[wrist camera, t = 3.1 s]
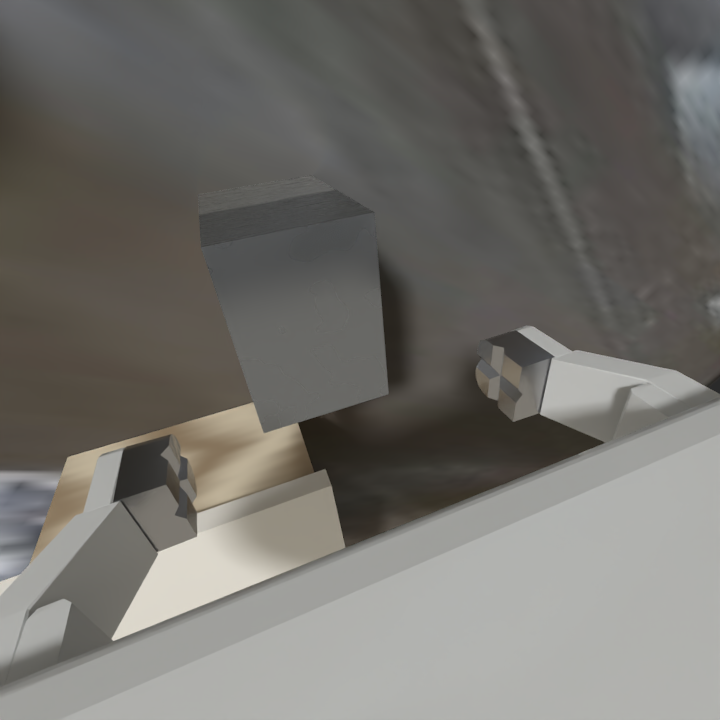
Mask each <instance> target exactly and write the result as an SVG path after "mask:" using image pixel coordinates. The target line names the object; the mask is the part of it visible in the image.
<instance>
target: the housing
mask: <svg viewBox="0 0 720 720" xmlns="http://www.w3.org/2000/svg"><path fill="white" fill-rule="evenodd" d="M198 202H199V219H200V236H201V249H202V252H203V254H204V257H205V260H206V263H207V266H208V269H209V272H210V275H211V278H212V281H213V284H214V287H215V290H216V293H217V296H218V299H219V302H220V305H221V308H222V311H223V314H224V317H225V320H226V323H227V326H228V329H229V332H230V335H231V338H232V341H233V344H234V346H235V349H236V352H237V355H238V358H239V361H240V364H241V367H242V370H243V373H244V376H245V379H246V382H247V385H248V388H249V391H250V394H251V397H252V400H253V403H254V406H255V409H256V412H257V415H258V418H259V421H260V424H261V427H262V430H263V433H267V432H270V431H273V430H276V429H279V428H283V427H286V426H289V425H292V424H295V423H298V422H302V421H305V420H308V419H311V418H314V417H317V416H321V415H324V414H327V413H330V412H333V411H337V410H340V409H343V408H346V407H349V406H352V405H356V404H359V403H362V402H365V401H368V400H371V399H375V398H378V397H381V396H384V395H387V394H389V392H388V379H387V366H386V353H385V340H384V327H383V315H382V302H381V289H380V276H379V263H378V250H377V238H376V225H375V212H373V211H371V210H369V209H368V208H366V207H364V206H363V205H361V204H359V203H358V202H356V201H354V200H352V199H351V198H349V197H347V196H346V195H344V194H342V193H341V192H339V191H337V190H335V189H334V188H332V187H330V186H329V185H327V184H325V183H323V182H322V181H320V180H318V179H317V178H315V177H313V176H312V175H308V176H302V177H297V178H291V179H285V180H279V181H274V182H268V183H262V184H256V185H250V186H245V187H239V188H233V189H227V190H221V191H216V192H210V193H204V194H198Z"/></svg>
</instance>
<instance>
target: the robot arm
mask: <svg viewBox="0 0 720 720" xmlns="http://www.w3.org/2000/svg"><path fill="white" fill-rule="evenodd" d="M477 354H478V355H479V357H480V358H481V360H480V362H479V363H478V365H477V366H476V379H477V382H478V386H479V387H480V389H481V391H482V392H483V393H484V394H485V395H486V396H487V397H488V398H491V399H494V400H497V402H498V408H499V409H500V410H501V411H502V412H503V413H504V414H505V415H506V416H507V417H509V418H510V419H511V420H512V421H513V422H514V421H517V420H520V419H523V418H526V417H529V416H532V415H535V414H538V413H540V415H542V416H545V417H547V418H549V419H552V420H554V421H556V422H559V423H561V424H563V425H566V426H568V427H570V428H573V429H575V430H577V431H580V432H582V433H584V434H587V435H589V436H591V437H594V438H596V439H598V440H601V441H603V442H605V443H604V444H601V445H599V446H596V447H594V448H591V449H589V450H587V451H584V452H582V453H579V454H577V455H574V456H572V457H569V458H567V459H564V460H562V461H559V462H557V463H554V464H552V465H549V466H547V467H544V468H542V469H539V470H537V471H534V472H532V473H529V474H527V475H524V476H522V477H520V478H517V479H515V480H512V481H510V482H507V483H505V484H502V485H500V486H497V487H495V488H492V489H490V490H487V491H485V492H482V493H480V494H477V495H475V496H472V497H470V498H467V499H465V500H462V501H460V502H458V503H455V504H453V505H450V506H448V507H445V508H443V509H440V510H438V511H435V512H433V513H430V514H428V515H425V516H423V517H420V518H418V519H415V520H413V521H410V522H408V523H405V524H403V525H400V526H398V527H395V528H393V529H390V530H388V531H385V532H383V533H380V534H378V535H376V536H373V537H371V538H368V539H366V540H363V541H361V542H358V543H356V544H353V545H351V546H348V547H346V548H343V549H341V550H338V551H336V552H333V553H331V554H328V555H326V556H323V557H321V558H318V559H316V560H313V561H311V562H308V563H306V564H303V565H301V566H299V567H296V568H294V569H291V570H289V571H286V572H284V573H281V574H279V575H276V576H274V577H271V578H269V579H266V580H264V581H261V582H259V583H256V584H254V585H251V586H249V587H246V588H244V589H241V590H239V591H236V592H234V593H231V594H229V595H227V596H224V597H222V598H219V599H217V600H214V601H212V602H209V603H207V604H204V605H202V606H199V607H197V608H194V609H192V610H189V611H187V612H184V613H182V614H179V615H177V616H174V617H172V618H169V619H167V620H164V621H162V622H160V623H157V624H155V625H152V626H150V627H147V628H145V629H142V630H140V631H137V632H135V633H132V634H130V635H127V636H125V637H122V638H120V639H117V640H115V641H113V640H112V637H113V635H114V633H115V632H116V630H117V628H118V626H119V624H120V623H121V621H122V619H123V617H124V615H125V614H126V612H127V610H128V608H129V606H130V605H131V603H132V601H133V599H134V597H135V595H136V594H137V592H138V590H139V588H140V586H141V585H142V583H143V581H144V579H145V577H146V576H147V574H148V572H149V570H150V568H151V566H152V565H153V563H154V561H155V559H156V557H157V556H158V553H157V552H159V551H162V550H164V549H167V548H170V547H172V546H175V545H177V544H180V543H182V542H185V541H187V540H190V539H193V538H195V537H197V511H196V509H195V507H194V506H193V504H192V503H193V501H194V500H195V498H196V497H197V488H196V482H195V476H194V473H193V470H192V467H191V465H190V463H189V461H188V459H187V458H184V457H182V456H181V445H180V444H179V442H178V440H177V438H176V437H175V435H173V434H170V435H166V436H162V437H159V438H155V439H152V440H148V441H145V442H141V443H137V444H134V445H130V446H127V447H125V448H120V449H117V450H114V451H110V452H107V453H103V454H102V455H101V456H100V457H99V458H98V459H97V463H96V467H95V471H94V474H93V478H92V482H91V485H90V489H89V493H88V496H87V500H86V504H85V507H84V511H83V513H81V514H78V515H75V516H74V517H73V519H72V520H71V521H70V522H69V523H68V524H67V525H66V526H65V527H64V528H63V529H62V530H61V531H60V532H59V533H58V535H57V536H56V537H55V538H54V539H53V540H52V541H51V542H50V543H49V544H48V545H47V546H46V547H45V548H44V550H43V551H42V552H41V553H40V554H39V555H38V556H37V557H36V558H35V559H34V560H33V561H32V562H31V563H30V564H29V566H28V567H27V568H26V569H25V570H24V571H23V572H22V573H21V574H20V575H19V576H18V577H17V578H16V579H15V580H14V582H13V583H12V584H11V585H10V586H9V587H8V588H7V589H6V590H5V591H4V592H3V593H2V594H1V595H0V720H720V394H718V393H716V392H715V391H713V390H711V389H709V388H707V387H705V386H703V385H702V384H700V383H698V382H696V381H694V380H692V379H691V378H689V377H687V376H685V375H683V374H681V373H680V372H678V371H675V370H670V369H665V368H661V367H656V366H651V365H646V364H641V363H637V362H632V361H627V360H622V359H617V358H613V357H608V356H603V355H598V354H593V353H588V352H584V351H579V350H576V351H573V352H572V351H571V350H569V349H568V348H566V347H564V346H563V345H561V344H560V343H558V342H557V341H555V340H553V339H552V338H550V337H549V336H547V335H545V334H544V333H542V332H541V331H539V330H538V329H536V328H534V327H533V326H524V327H521V328H518V329H515V330H512V331H511V332H507V333H504V334H501V335H498V336H494V337H491V338H488V339H485V340H481V341H480V343H479V345H478V350H477Z"/></svg>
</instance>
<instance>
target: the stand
mask: <svg viewBox="0 0 720 720" xmlns="http://www.w3.org/2000/svg"><path fill="white" fill-rule="evenodd" d="M170 434H173V435H175V437H176V438H177V440H178V442H179V444H180V445H181V456H182V457H184V458H187V459H188V461H189V463H190V465H191V467H192V470H193V473H194V476H195V482H196V488H197V497H196V498H195V500H194V501H193V503H192V504H193V506H194V507H195V509H196V511H197V537H195V538H193V539H190V540H187V541H185V542H182V543H180V544H177V545H175V546H172V547H170V548H167V549H164V550H162V551H159V552H157V553H158V556H157V557H156V559H155V561H154V563H153V565H152V566H151V568H150V570H149V572H148V574H147V576H146V577H145V579H144V581H143V583H142V585H141V586H140V588H139V590H138V592H137V594H136V595H135V597H134V599H133V601H132V603H131V605H130V606H129V608H128V610H127V612H126V614H125V615H124V617H123V619H122V621H121V623H120V624H119V626H118V628H117V630H116V632H115V633H114V635H113V637H112V640H113V641H115V640H117V639H120V638H122V637H125V636H127V635H130V634H132V633H135V632H137V631H140V630H142V629H145V628H147V627H150V626H152V625H155V624H157V623H160V622H162V621H164V620H167V619H169V618H172V617H174V616H177V615H179V614H182V613H184V612H187V611H189V610H192V609H194V608H197V607H199V606H202V605H204V604H207V603H209V602H212V601H214V600H217V599H219V598H222V597H224V596H227V595H229V594H231V593H234V592H236V591H239V590H241V589H244V588H246V587H249V586H251V585H254V584H256V583H259V582H261V581H264V580H266V579H269V578H271V577H274V576H276V575H279V574H281V573H284V572H286V571H289V570H291V569H294V568H296V567H299V566H301V565H303V564H306V563H308V562H311V561H313V560H316V559H318V558H321V557H323V556H326V555H328V554H331V553H333V552H336V551H338V550H341V549H343V548H345V544H344V539H343V535H342V530H341V526H340V521H339V517H338V512H337V508H336V504H335V499H334V495H333V490H332V486H331V483H330V480H329V477H328V475H327V472H326V469H324V470H321V471H318V472H315V473H314V470H313V467H312V464H311V461H310V458H309V455H308V452H307V449H306V446H305V443H304V440H303V437H302V434H301V431H300V428H299V425H298V423H295V424H292V425H289V426H286V427H283V428H279V429H276V430H273V431H270V432H267V433H263V430H262V427H261V424H260V421H259V418H258V415H257V412H256V409H255V406H254V403H249V404H246V405H243V406H239V407H236V408H232V409H229V410H226V411H222V412H219V413H216V414H212V415H209V416H205V417H202V418H199V419H195V420H192V421H188V422H185V423H182V424H178V425H175V426H171V427H168V428H165V429H161V430H158V431H155V432H151V433H148V434H144V435H141V436H138V437H134V438H131V439H127V440H124V441H121V442H117V443H114V444H111V445H107V446H104V447H100V448H97V449H94V450H90V451H87V452H83V453H80V454H77V455H73V456H70V457H68V458H67V461H66V463H65V466H64V469H63V472H62V475H61V477H60V480H59V483H58V486H57V489H56V492H55V494H54V497H53V500H52V503H51V506H50V508H49V511H48V514H47V517H46V520H45V522H44V525H43V528H42V531H41V534H40V537H39V539H38V542H37V545H36V548H35V551H34V553H33V556H32V559H31V562H32V561H33V560H34V559H35V558H36V557H37V556H38V555H39V554H40V553H41V552H42V551H43V550H44V548H45V547H46V546H47V545H48V544H49V543H50V542H51V541H52V540H53V539H54V538H55V537H56V536H57V535H58V533H59V532H60V531H61V530H62V529H63V528H64V527H65V526H66V525H67V524H68V523H69V522H70V521H71V520H72V519H73V517H74V516H75V515H78V514H81V513H83V511H84V507H85V504H86V500H87V496H88V493H89V489H90V485H91V482H92V478H93V474H94V471H95V467H96V463H97V459H98V458H99V457H100V456H101V455H102V454H103V453H107V452H110V451H114V450H117V449H120V448H125V447H127V446H130V445H134V444H137V443H141V442H145V441H148V440H152V439H155V438H159V437H162V436H166V435H170ZM31 562H30V563H31ZM18 576H19V575H18ZM18 576H15V577H12V578H9V579H6V580H4V581H1V582H0V595H1V594H2V593H3V592H4V591H5V590H6V589H7V588H8V587H9V586H10V585H11V584H12V583H13V582H14V580H15V579H16V578H17V577H18Z"/></svg>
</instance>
